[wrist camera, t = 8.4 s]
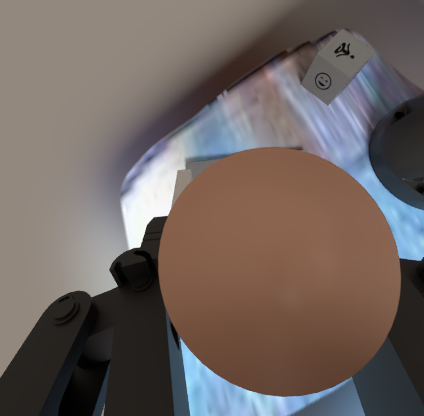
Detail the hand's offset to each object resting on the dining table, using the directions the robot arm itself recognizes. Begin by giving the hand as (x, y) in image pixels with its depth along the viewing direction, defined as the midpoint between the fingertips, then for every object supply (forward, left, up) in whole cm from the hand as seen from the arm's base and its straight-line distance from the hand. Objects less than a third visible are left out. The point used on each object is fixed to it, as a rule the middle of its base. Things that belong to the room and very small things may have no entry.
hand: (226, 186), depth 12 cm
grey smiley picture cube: (-17, -18, -15) cm, 29 cm away
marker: (0, +4, -3) cm, 5 cm away
